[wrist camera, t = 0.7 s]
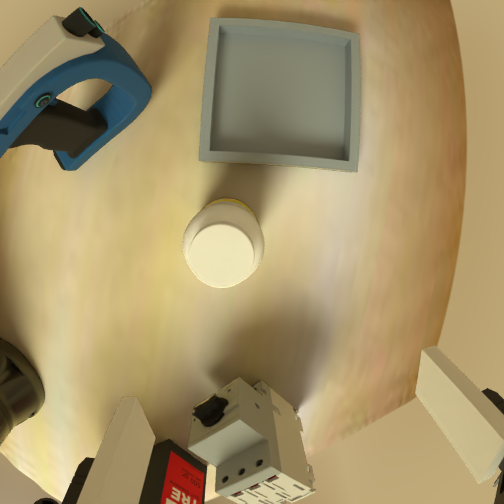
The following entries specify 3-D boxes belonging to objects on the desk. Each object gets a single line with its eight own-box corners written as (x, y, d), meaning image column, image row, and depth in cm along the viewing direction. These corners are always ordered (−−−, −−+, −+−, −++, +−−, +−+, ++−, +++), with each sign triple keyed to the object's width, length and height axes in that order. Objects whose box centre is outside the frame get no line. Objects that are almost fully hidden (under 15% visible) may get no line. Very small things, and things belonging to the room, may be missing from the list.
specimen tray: (202, 162, 33) (198, 160, 30) (212, 28, 29) (210, 17, 26) (348, 172, 34) (357, 172, 31) (350, 43, 30) (359, 33, 27)
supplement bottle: (236, 268, 36) (235, 317, 23) (185, 237, 35) (157, 271, 22) (269, 217, 35) (286, 242, 22) (217, 185, 34) (204, 191, 21)
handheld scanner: (45, 156, 32) (-75, 161, 13) (146, 69, 30) (68, -11, 11) (62, 184, 33) (-58, 207, 14) (166, 98, 31) (95, 29, 12)
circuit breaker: (229, 350, 38) (226, 437, 24) (298, 410, 41) (317, 492, 27) (188, 381, 39) (170, 466, 25) (258, 435, 42) (264, 515, 28)
